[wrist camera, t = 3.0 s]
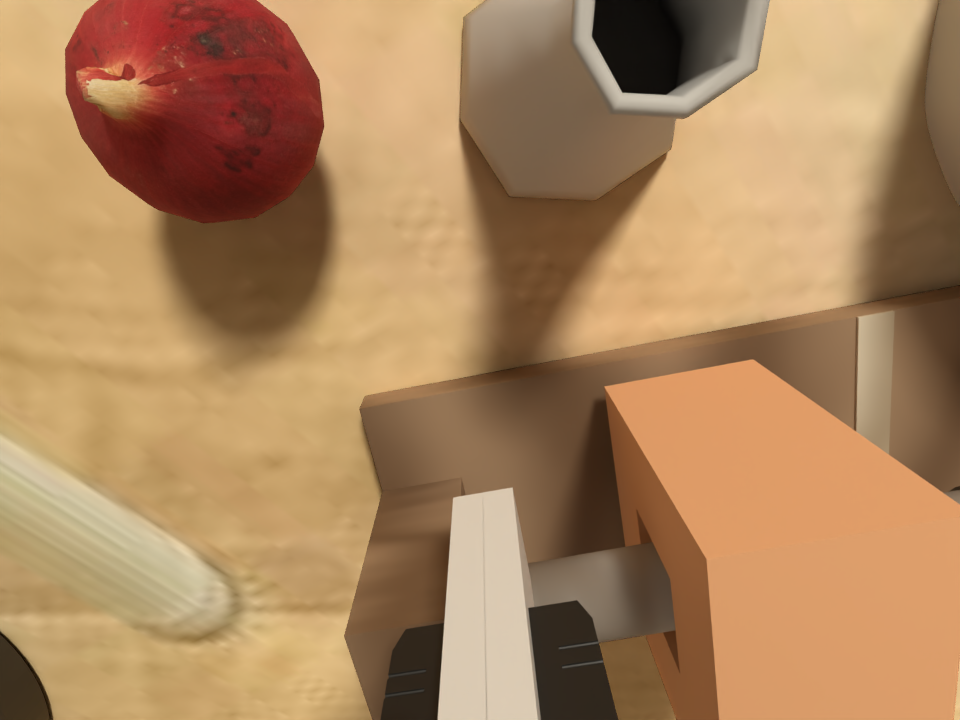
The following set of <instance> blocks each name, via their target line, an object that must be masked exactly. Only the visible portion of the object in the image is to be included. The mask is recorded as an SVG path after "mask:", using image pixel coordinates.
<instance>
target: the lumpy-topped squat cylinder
mask: <svg viewBox="0 0 960 720" xmlns="http://www.w3.org/2000/svg"><path fill="white" fill-rule="evenodd" d="M925 114H926V121H927V126H928V130H929V134H930V137H931V141H932V144H933V147H934V151H935V154H936V157H937V160H938V162H939V165H940V168H941V171H942V173H943V176H944V178H945V180H946V183H947V185H948V187H949V189H950V191H951V193H952V195H953V197H954V199H955V200H956V202H957V203H958V205H959V206H960V0H939V4H938V9H937V14H936V19H935V24H934V30H933V35H932V41H931V48H930V54H929V61H928V69H927V77H926V88H925Z"/></svg>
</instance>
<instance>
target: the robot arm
mask: <svg viewBox="0 0 960 720" xmlns="http://www.w3.org/2000/svg"><path fill="white" fill-rule="evenodd" d="M388 676H389V678H388V679H387V684H386V690H385V699H384V702H383V707H382V713H381V719H380V720H618V717H617V713H616V709H615V706H614V702H613V698H612V694H611V690H610V686H609V682H608V678H607V674H606V670H605V666H604V663H603V658H602V654H601V650H600V646H599V643H598V638H597V634H596V630H595V626H594V622H593V618H592V617H591V616H590V614H589V613H588V612H587V611H586V610H585V609H584V607H583V606H582V605H581V604H580V603H579V602H578V600H575V601H569V602H562V603H556V604H550V605H543V606H537V607H534V601H533V594H532V586H531V578H530V573H529V568H528V563H527V558H526V553H525V547H524V542H523V537H522V532H521V527H520V522H519V517H518V512H517V507H516V502H515V497H514V492H513V487H512V488H506V489H500V490H495V491H489V492H483V493H477V494H471V495H465V496H459V497H453V507H452V522H451V536H450V550H449V564H448V578H447V592H446V607H445V621H444V623H440V624H434V625H428V626H421V627H415V628H409V629H405V631H404V633H403V634H402V636H401V637H400V639H399V641H398V642H397V644H396V646H395V647H394V649H393V650H392V655H391V661H390V667H389V673H388ZM0 720H49V713H48V709H47V705H46V701H45V698H44V696H43V693H42V691H41V688H40V686H39V684H38V682H37V680H36V679H35V677H34V675H33V673H32V672H31V670H30V669H29V667H28V666H27V664H26V663H25V662H24V660H23V659H22V658H21V656H20V655H19V654H18V653H17V652H16V650H15V649H14V648H13V647H12V646H11V645H10V644H9V643H8V642H7V641H6V640H5V639H4V638H3V637H2V636H1V635H0Z"/></svg>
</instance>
